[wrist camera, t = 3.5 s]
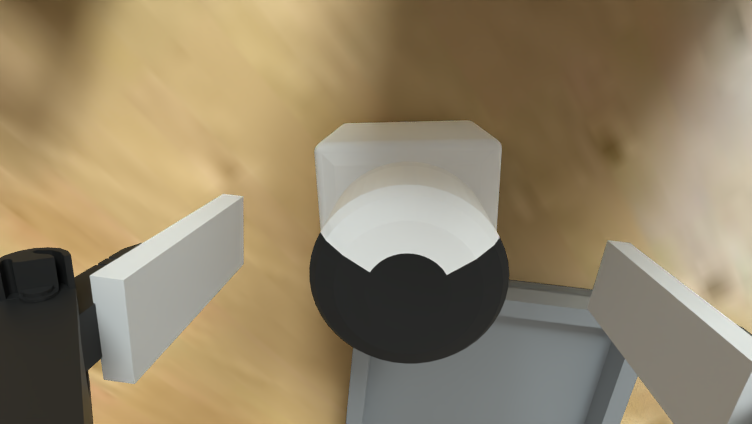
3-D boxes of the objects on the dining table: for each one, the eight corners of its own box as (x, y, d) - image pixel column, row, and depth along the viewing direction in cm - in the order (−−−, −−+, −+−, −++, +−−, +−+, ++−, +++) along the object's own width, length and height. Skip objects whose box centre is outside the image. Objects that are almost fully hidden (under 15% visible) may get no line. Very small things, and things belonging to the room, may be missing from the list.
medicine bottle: (469, 244, 24) (524, 397, 13) (347, 244, 25) (296, 391, 13) (474, 119, 22) (547, 168, 10) (340, 122, 22) (271, 173, 11)
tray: (344, 461, 30) (339, 494, 28) (363, 262, 25) (359, 282, 22) (567, 492, 29) (581, 528, 27) (634, 294, 24) (658, 318, 22)
